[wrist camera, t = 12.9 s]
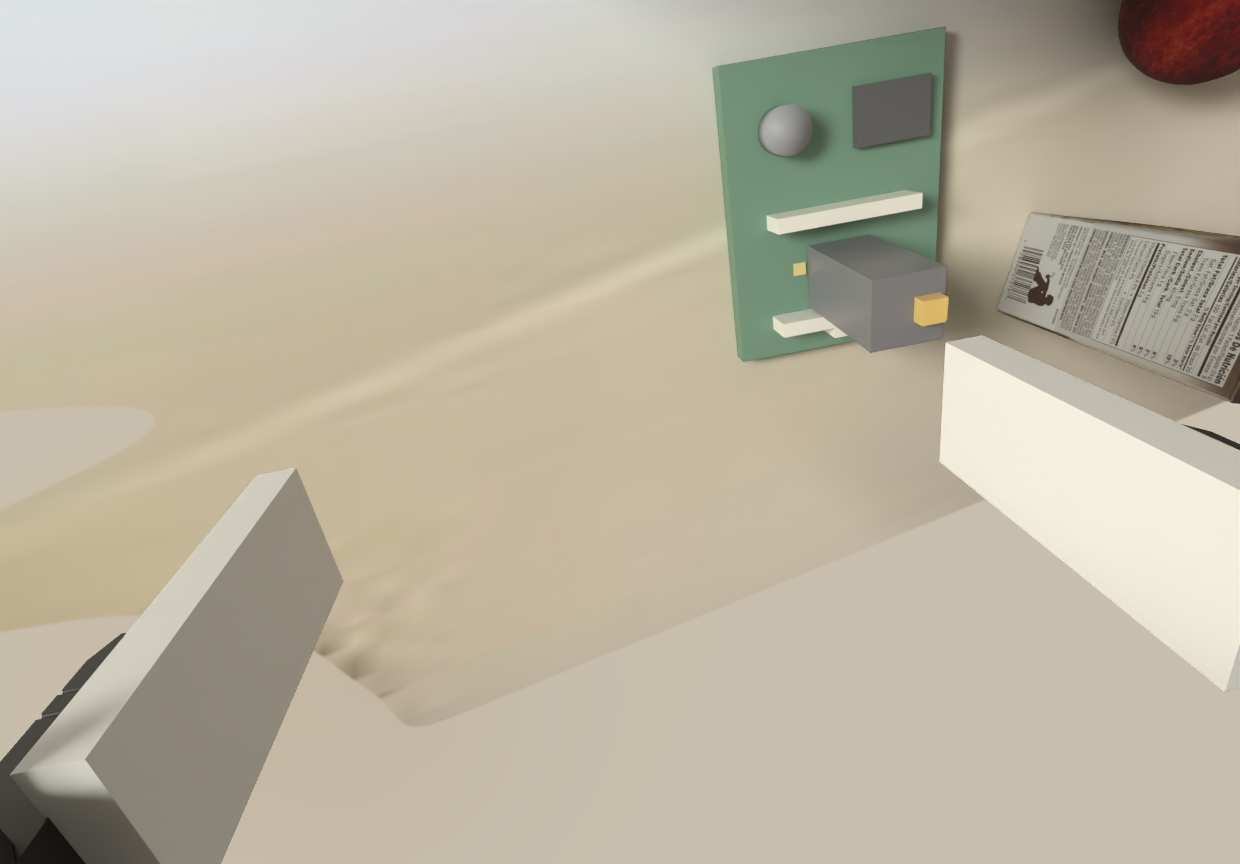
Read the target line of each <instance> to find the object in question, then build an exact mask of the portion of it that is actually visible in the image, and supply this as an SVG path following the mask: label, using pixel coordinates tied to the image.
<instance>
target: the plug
mask: <svg viewBox="0 0 1240 864" xmlns="http://www.w3.org/2000/svg"><path fill="white" fill-rule="evenodd" d="M946 277H947V266H946V265H943V264H941V263H938V262H936V261H933V260H931V259H929V258H926V257H924V256H921V255H919V254H916V253H914V252H911V251H909V250H906V249H904V248H902V247H899V246H897V245H894V244H892V243H889V242H887V241H884V240H882V239H879V238H877V237H875V236H872V235H870V234H867V235H862V236H856V237H851V238H846V239H841V240H835V241H830V242H825V243H819V244H814V245H809V246H808V282H809V307H810V308H812V309H813V310H814V311H816V312H817V313H818V314H820V315H821V316H822V317H824V318H825V319H826V320H828V321H829V322H830V323H832V324H833V325H834V326H836V327H837V328H838V329H840V330H841V331H842V332H844V333H845V334H846V335H848V336H849V337H850V338H852V339H853V340H854V341H856V342H857V343H858V344H860V345H861V346H862V347H864V348H865V349H866V350H868V351H869V352H870V353H872V352H877V351H882V350H887V349H892V348H897V347H903V346H908V345H913V344H918V343H923V342H928V341H933V340H938V339H942V329H943V322H947V313H948V301H949V297H948V296H946V295H945V290H946Z"/></svg>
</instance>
